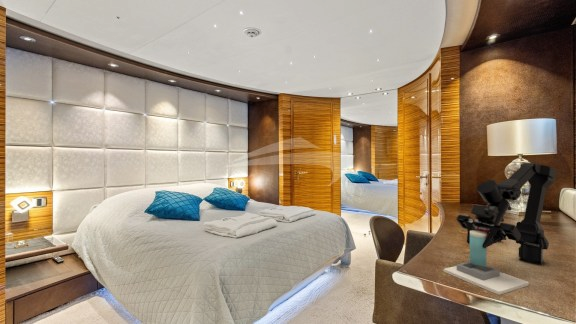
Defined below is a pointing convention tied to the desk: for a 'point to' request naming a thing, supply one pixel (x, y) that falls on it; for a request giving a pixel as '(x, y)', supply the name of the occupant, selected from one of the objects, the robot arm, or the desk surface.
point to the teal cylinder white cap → (477, 248)
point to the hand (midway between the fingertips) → (475, 245)
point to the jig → (486, 277)
